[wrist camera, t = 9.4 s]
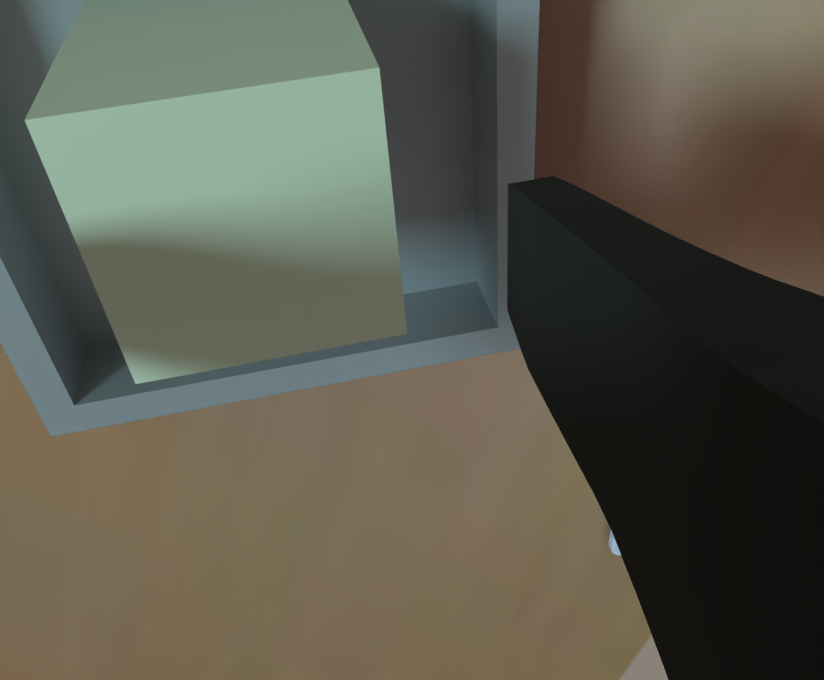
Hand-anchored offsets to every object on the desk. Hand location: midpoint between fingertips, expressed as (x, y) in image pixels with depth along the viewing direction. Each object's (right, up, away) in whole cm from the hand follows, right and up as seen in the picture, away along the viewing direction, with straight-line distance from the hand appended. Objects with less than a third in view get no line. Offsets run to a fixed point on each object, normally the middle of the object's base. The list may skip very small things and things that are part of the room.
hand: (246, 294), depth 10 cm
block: (-1, +5, +6) cm, 8 cm away
